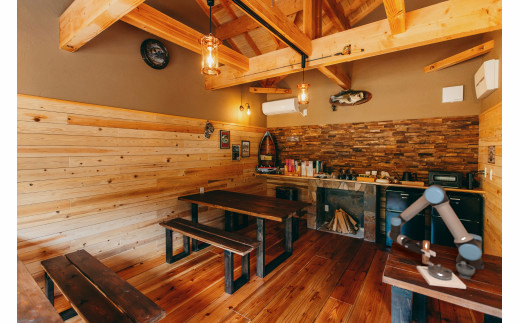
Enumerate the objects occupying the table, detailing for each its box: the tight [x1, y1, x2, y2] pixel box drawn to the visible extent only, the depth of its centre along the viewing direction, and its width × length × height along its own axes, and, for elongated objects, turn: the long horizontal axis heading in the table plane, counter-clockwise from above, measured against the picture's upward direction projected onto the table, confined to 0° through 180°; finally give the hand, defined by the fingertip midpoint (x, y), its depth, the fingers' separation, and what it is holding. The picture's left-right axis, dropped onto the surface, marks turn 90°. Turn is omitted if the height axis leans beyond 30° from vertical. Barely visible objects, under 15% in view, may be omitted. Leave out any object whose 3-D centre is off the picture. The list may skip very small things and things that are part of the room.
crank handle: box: [421, 239, 453, 281], centre depth 160 cm, size 20×13×19 cm, turn 10°
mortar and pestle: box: [455, 261, 476, 280], centre depth 158 cm, size 11×9×12 cm
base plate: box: [416, 265, 467, 290], centre depth 157 cm, size 20×20×2 cm
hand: (432, 255), depth 162 cm, fingers closed on crank handle, 4 cm apart
